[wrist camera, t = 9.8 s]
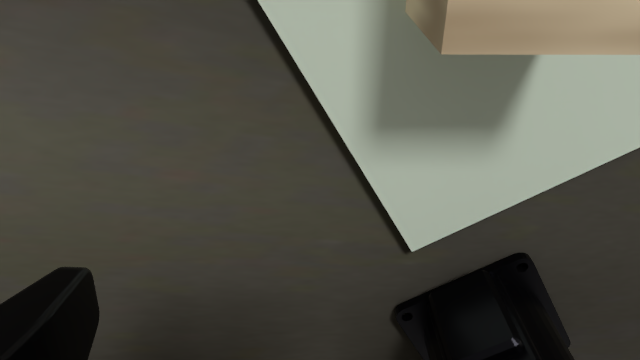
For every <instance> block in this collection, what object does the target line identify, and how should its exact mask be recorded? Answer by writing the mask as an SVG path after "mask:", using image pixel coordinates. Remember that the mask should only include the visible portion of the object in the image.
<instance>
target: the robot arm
mask: <svg viewBox="0 0 640 360" xmlns="http://www.w3.org/2000/svg"><path fill="white" fill-rule="evenodd" d="M520 263H524V264H523V265H521V266H518V265H519V264H520ZM404 313H409V314H407V315H403V314H404ZM395 315H396V319H397V322H398V323H399V325H400V326H401V327H402V329H403V330H404V332H405V333H406V335H407V336H408V338H409V339H410V340H411V342H412V343H413V345H414V346H415V348H416V349H417V351H418V352H419V353H420V355H421V356H422V358H423V359H424V360H574V358H573V356H572V354H571V353H570V351H569V349H568V347H569V346H570V340H569V338H568V335H567V333H566V331H565V329H564V327H563V325H562V323H561V320H560V318H559V316H558V314H557V312H556V310H555V308H554V306H553V303H552V301H551V299H550V297H549V295H548V293H547V291H546V288H545V286H544V284H543V282H542V280H541V278H540V276H539V274H538V271H537V269H536V267H535V265H534V263H533V261H532V260H531V258H530V257H529V255H528V254H526V253H517V254H514V255H511V256H509V257H507V258H505V259H502V260H500V261H498V262H495V263H493V264H491V265H489V266H486V267H484V268H482V269H479V270H477V271H475V272H473V273H470V274H468V275H466V276H463V277H461V278H459V279H457V280H454V281H452V282H450V283H447V284H445V285H443V286H440V287H438V288H436V289H434V290H431V291H429V292H427V293H424V294H422V295H420V296H418V297H415V298H413V299H411V300H408V301H406V302H404V303H402V304H400V305H398V306H397V307H396V309H395ZM98 322H99V306H98V301H97V296H96V291H95V285H94V280H93V276H92V273H91V271H90V270H89V269H87V268H83V267H60V268H58V269H56V270H54V271H52V272H51V273H49V274H48V275H46V276H44V277H43V278H41V279H40V280H38V281H37V282H35V283H33V284H32V285H30V286H29V287H27V288H25V289H24V290H22V291H21V292H19V293H17V294H16V295H14V296H13V297H11V298H9V299H8V300H6V301H5V302H3V303H1V304H0V360H88V357H89V353H90V350H91V347H92V344H93V340H94V337H95V334H96V330H97V327H98Z"/></svg>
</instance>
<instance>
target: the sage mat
mask: <svg viewBox="0 0 640 360" xmlns="http://www.w3.org/2000/svg"><path fill="white" fill-rule="evenodd" d="M258 2H259V4H260V5H261V7H262V8H263V10H264V12H265V13H266V15H267V17H268V18H269V20H270V21H271V23H272V25H273V26H274V28H275V30H276V31H277V33H278V35H279V36H280V38H281V39H282V41H283V43H284V44H285V46H286V48H287V49H288V51H289V52H290V54H291V56H292V57H293V59H294V61H295V62H296V64H297V65H298V67H299V69H300V70H301V72H302V74H303V75H304V77H305V79H306V80H307V82H308V83H309V85H310V87H311V88H312V90H313V92H314V93H315V95H316V96H317V98H318V100H319V101H320V103H321V105H322V106H323V108H324V110H325V111H326V113H327V114H328V116H329V118H330V119H331V121H332V123H333V124H334V126H335V127H336V129H337V131H338V132H339V134H340V136H341V137H342V139H343V140H344V142H345V144H346V145H347V147H348V149H349V150H350V152H351V154H352V155H353V157H354V158H355V160H356V162H357V163H358V165H359V167H360V168H361V170H362V171H363V173H364V175H365V176H366V178H367V180H368V181H369V183H370V185H371V186H372V188H373V189H374V191H375V193H376V194H377V196H378V198H379V199H380V201H381V202H382V204H383V206H384V207H385V209H386V211H387V212H388V214H389V216H390V217H391V219H392V220H393V222H394V224H395V225H396V227H397V229H398V230H399V232H400V233H401V235H402V237H403V238H404V240H405V242H406V243H407V245H408V246H409V248H410V250H411V251H412V252H413V251H415V250H417V249H420V248H422V247H424V246H426V245H428V244H430V243H433V242H435V241H437V240H439V239H441V238H443V237H446V236H448V235H450V234H452V233H454V232H457V231H459V230H461V229H463V228H465V227H467V226H470V225H472V224H474V223H476V222H478V221H480V220H483V219H485V218H487V217H489V216H491V215H494V214H496V213H498V212H500V211H502V210H504V209H507V208H509V207H511V206H513V205H515V204H517V203H520V202H522V201H524V200H526V199H528V198H531V197H533V196H535V195H537V194H539V193H541V192H544V191H546V190H548V189H550V188H552V187H554V186H557V185H559V184H561V183H563V182H565V181H568V180H570V179H572V178H574V177H576V176H578V175H581V174H583V173H585V172H587V171H589V170H591V169H594V168H596V167H598V166H600V165H602V164H605V163H607V162H609V161H611V160H613V159H615V158H618V157H620V156H622V155H624V154H626V153H628V152H631V151H633V150H635V149H637V148H639V147H640V55H448V54H440V52H439V51H438V50H437V49H436V48H435V47H434V45H433V44H432V43H431V42H430V41H429V39H428V38H427V37H426V36H425V35H424V34H423V32H422V31H421V30H420V29H419V28H418V26H417V25H416V24H415V23H414V22H413V20H412V19H411V18H410V17H409V16H408V15H407V13H406V12H405V9H406V0H258Z"/></svg>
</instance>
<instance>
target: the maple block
mask: <svg viewBox="0 0 640 360" xmlns="http://www.w3.org/2000/svg"><path fill="white" fill-rule="evenodd" d="M405 12H406V13H407V15H408V16H409V17H410V18H411V19H412V20H413V22H414V23H415V24H416V25H417V26H418V28H419V29H420V30H421V31H422V32H423V34H424V35H425V36H426V37H427V38H428V39H429V41H430V42H431V43H432V44H433V45H434V47H435V48H436V49H437V50H438V51H439V52H440V54H448V55H640V0H406V9H405Z"/></svg>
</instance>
